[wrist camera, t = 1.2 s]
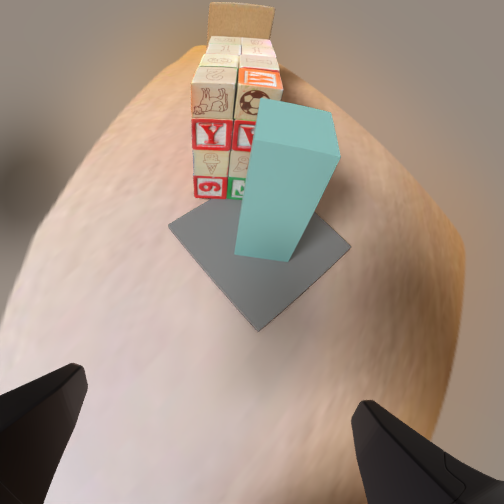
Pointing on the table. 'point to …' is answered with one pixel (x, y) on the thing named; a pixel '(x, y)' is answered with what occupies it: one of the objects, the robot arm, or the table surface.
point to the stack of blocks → (229, 111)
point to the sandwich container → (240, 20)
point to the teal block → (284, 177)
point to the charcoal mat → (255, 259)
